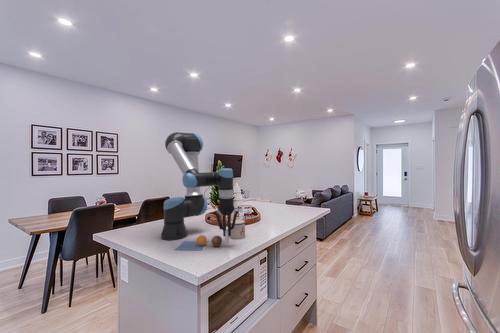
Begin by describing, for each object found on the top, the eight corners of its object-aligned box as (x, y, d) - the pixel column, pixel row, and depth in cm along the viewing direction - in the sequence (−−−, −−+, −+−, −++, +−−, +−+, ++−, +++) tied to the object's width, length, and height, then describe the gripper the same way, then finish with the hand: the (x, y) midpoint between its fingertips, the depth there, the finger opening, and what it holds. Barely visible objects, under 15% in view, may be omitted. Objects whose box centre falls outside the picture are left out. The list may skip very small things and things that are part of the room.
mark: (174, 250, 120) (174, 249, 120) (184, 241, 134) (184, 241, 134) (201, 250, 119) (201, 250, 119) (208, 241, 132) (208, 241, 132)
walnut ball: (223, 243, 122) (215, 250, 122) (225, 239, 127) (217, 246, 127) (215, 235, 122) (208, 242, 122) (217, 231, 127) (210, 238, 127)
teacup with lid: (243, 239, 135) (243, 219, 135) (228, 238, 137) (227, 218, 137) (247, 233, 147) (247, 214, 147) (233, 233, 149) (233, 214, 149)
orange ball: (202, 249, 123) (193, 244, 123) (205, 245, 128) (196, 240, 129) (206, 240, 123) (197, 235, 123) (209, 237, 128) (201, 232, 129)
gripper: (212, 198, 121) (213, 244, 121) (237, 198, 120) (238, 245, 120) (215, 196, 129) (216, 240, 129) (239, 196, 127) (240, 240, 127)
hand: (227, 242), depth 124 cm, fingers closed
